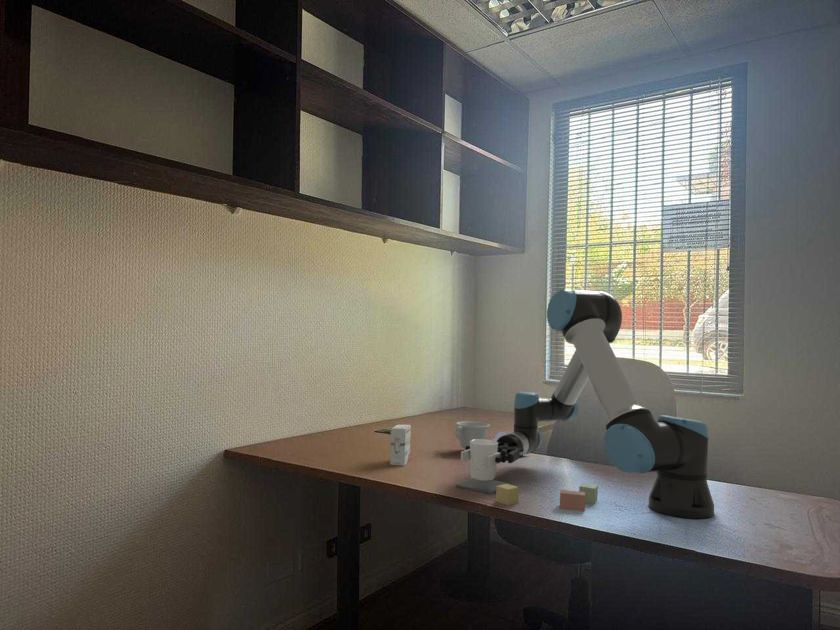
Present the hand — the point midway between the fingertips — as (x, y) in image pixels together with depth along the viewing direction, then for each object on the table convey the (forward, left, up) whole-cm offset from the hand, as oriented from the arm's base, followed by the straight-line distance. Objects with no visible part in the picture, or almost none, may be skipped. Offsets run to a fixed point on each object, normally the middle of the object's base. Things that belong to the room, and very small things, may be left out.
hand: (474, 459), depth 162 cm
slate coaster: (0, -5, -8) cm, 10 cm away
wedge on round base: (+13, -51, -9) cm, 53 cm away
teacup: (+25, -41, -9) cm, 49 cm away
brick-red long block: (-27, -2, -8) cm, 28 cm away
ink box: (+34, -12, -9) cm, 37 cm away
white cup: (0, -5, -6) cm, 8 cm away
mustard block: (-12, +4, -8) cm, 15 cm away
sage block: (-28, -11, -8) cm, 31 cm away
